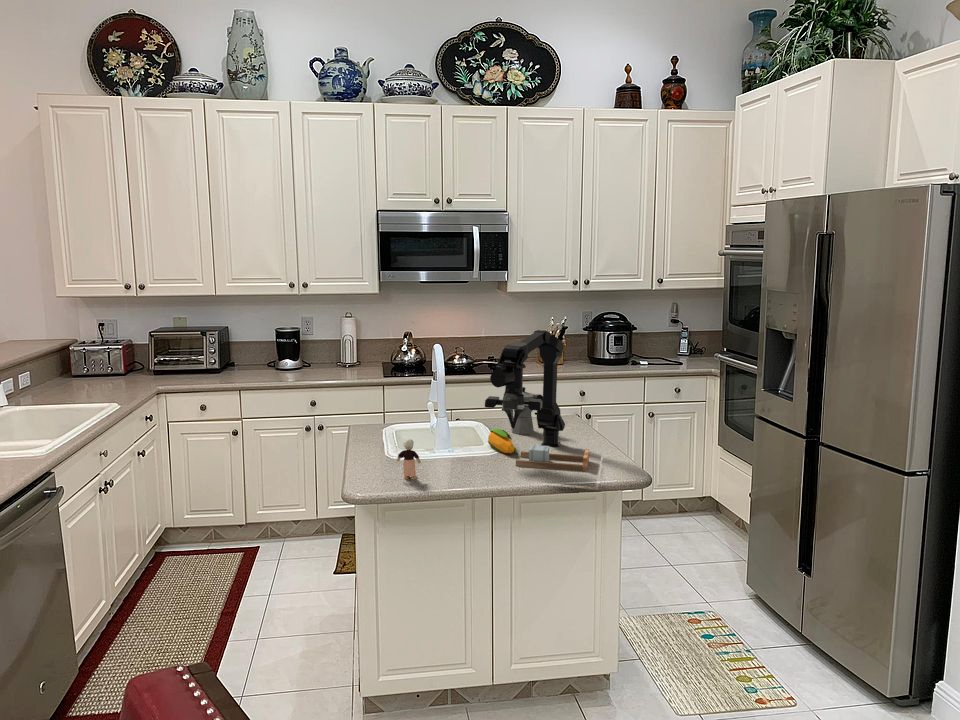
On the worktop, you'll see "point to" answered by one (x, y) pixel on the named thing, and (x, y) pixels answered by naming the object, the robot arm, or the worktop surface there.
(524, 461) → the bay
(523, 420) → the coffeepot
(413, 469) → the grandmother figurine
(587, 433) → the worktop surface
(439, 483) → the worktop surface
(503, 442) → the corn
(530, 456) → the block
